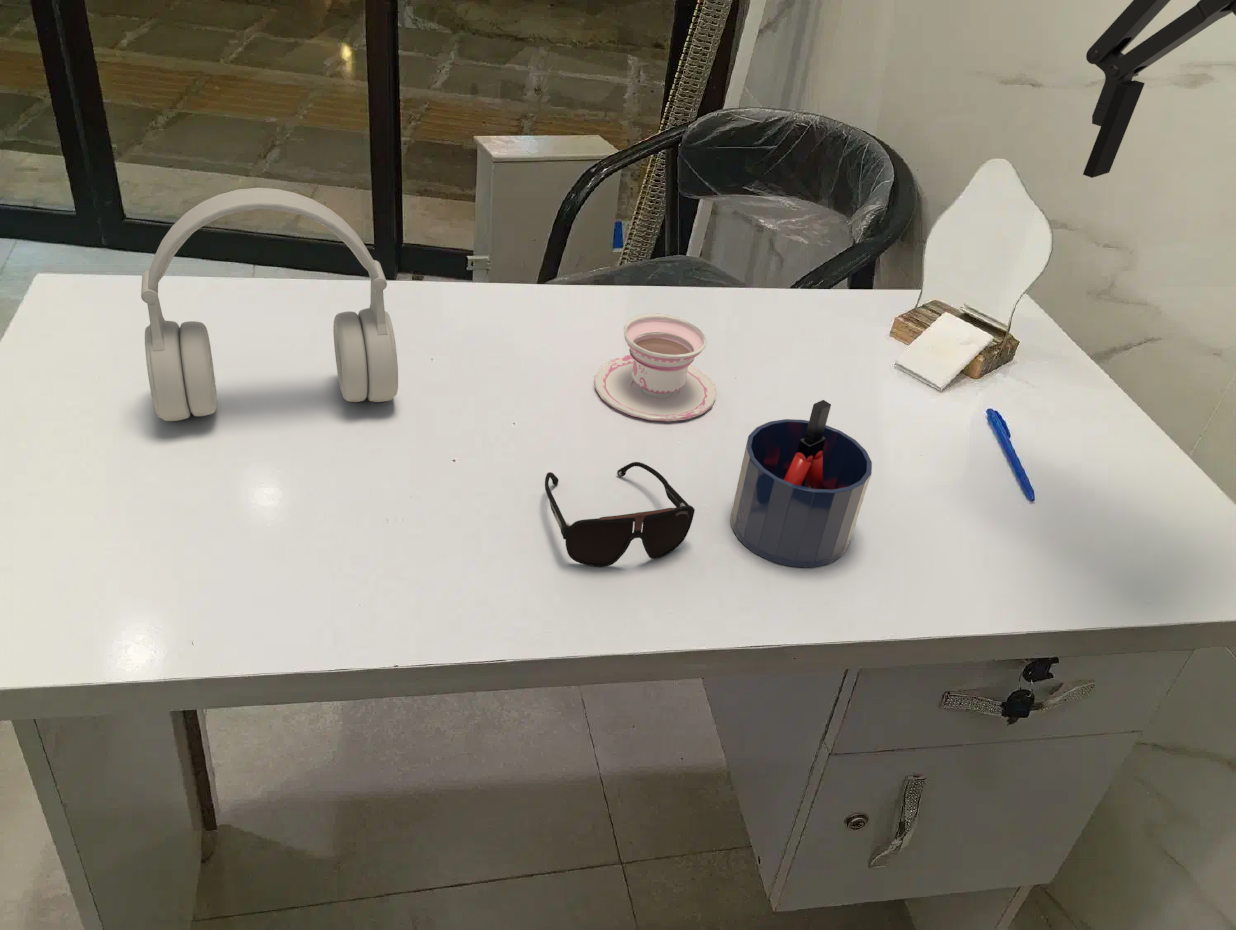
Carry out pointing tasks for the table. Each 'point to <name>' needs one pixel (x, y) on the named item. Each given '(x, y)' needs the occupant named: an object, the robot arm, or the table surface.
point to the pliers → (810, 450)
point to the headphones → (185, 351)
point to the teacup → (658, 371)
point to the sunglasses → (624, 528)
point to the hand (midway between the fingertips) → (1185, 205)
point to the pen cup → (798, 496)
